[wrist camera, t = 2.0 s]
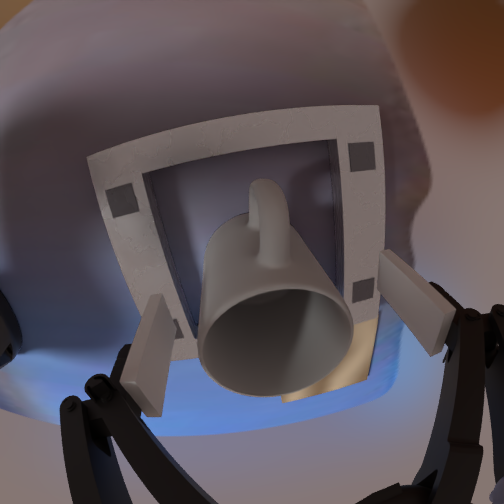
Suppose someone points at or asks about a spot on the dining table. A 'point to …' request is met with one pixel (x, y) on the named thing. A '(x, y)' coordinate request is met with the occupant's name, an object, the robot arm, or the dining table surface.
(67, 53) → the dining table surface
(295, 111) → the grey square frame
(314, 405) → the dining table surface
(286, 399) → the coaster
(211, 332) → the mug
